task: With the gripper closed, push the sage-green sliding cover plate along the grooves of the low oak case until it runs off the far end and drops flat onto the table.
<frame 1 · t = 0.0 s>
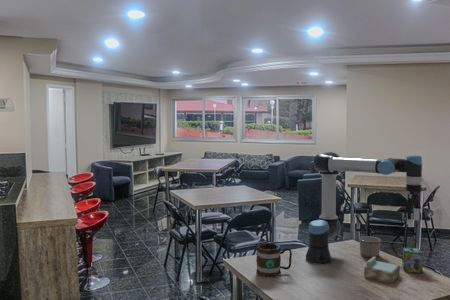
hand: (413, 222, 211), 28 cm above the table, fingers open, 13 cm apart
planter: (369, 255, 242), on the table
chalk box: (411, 270, 217), on the table
mug: (274, 273, 214), on the table
oak case: (382, 276, 208), on the table
cover plate: (382, 269, 208), point 4 cm above the table, touching oak case
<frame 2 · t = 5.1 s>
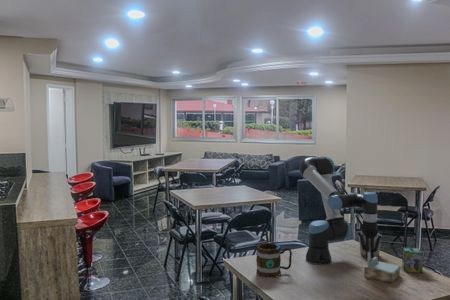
hand: (369, 263, 211), 6 cm above the table, fingers closed
cover plate: (383, 269, 207), point 4 cm above the table, touching gripper, oak case
everything else where it was.
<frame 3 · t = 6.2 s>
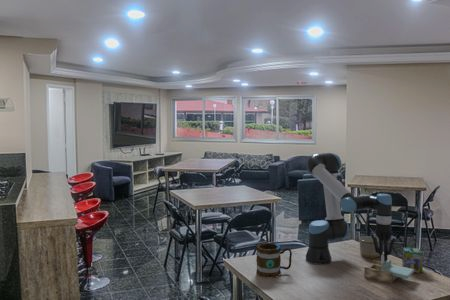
hand: (383, 266, 207), 6 cm above the table, fingers closed
cover plate: (397, 272, 203), point 4 cm above the table, touching gripper
everything else where it was.
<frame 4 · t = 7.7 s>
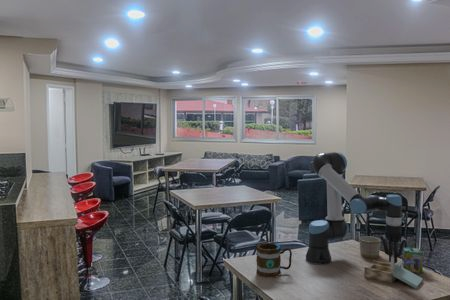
hand: (393, 268, 204), 6 cm above the table, fingers closed
cover plate: (406, 277, 200), point 2 cm above the table, tilted 20°, touching gripper
everything else where it was.
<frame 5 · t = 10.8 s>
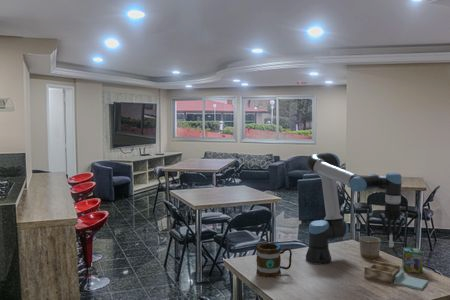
hand: (391, 246, 205), 17 cm above the table, fingers closed
cover plate: (410, 284, 199), on the table
everything else where it was.
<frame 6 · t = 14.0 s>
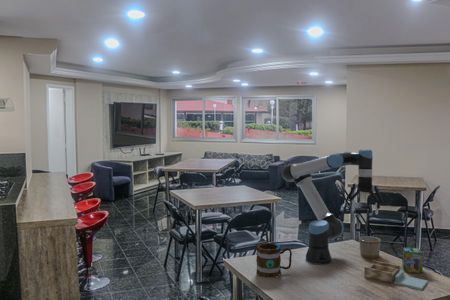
hand: (364, 212, 224), 31 cm above the table, fingers open, 13 cm apart
nothing on the table moved.
at the end: cover plate inside the target area (2.6 cm from its centre), on the table; cover plate tilted 0°; cover plate touching table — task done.
